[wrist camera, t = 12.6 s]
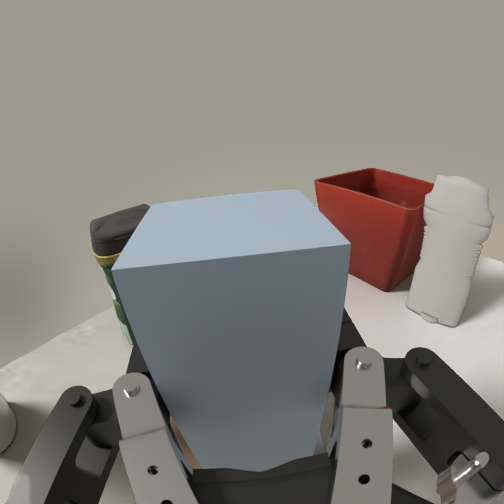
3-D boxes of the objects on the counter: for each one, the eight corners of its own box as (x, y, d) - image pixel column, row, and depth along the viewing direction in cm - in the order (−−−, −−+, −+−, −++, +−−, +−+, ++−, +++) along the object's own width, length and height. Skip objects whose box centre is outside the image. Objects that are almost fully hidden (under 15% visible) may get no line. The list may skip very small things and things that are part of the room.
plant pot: (392, 311, 42) (412, 208, 34) (309, 266, 56) (311, 179, 48) (437, 269, 51) (452, 188, 43) (366, 238, 65) (371, 167, 57)
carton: (215, 488, 12) (110, 269, 6) (212, 425, 16) (152, 204, 10) (309, 476, 12) (359, 242, 6) (294, 415, 16) (303, 188, 10)
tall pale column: (399, 309, 42) (424, 169, 32) (408, 297, 44) (431, 166, 34) (455, 334, 34) (498, 190, 24) (461, 320, 37) (499, 185, 27)
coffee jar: (170, 304, 47) (147, 195, 39) (192, 329, 41) (167, 207, 33) (118, 325, 42) (82, 215, 34) (132, 356, 36) (88, 232, 28)
